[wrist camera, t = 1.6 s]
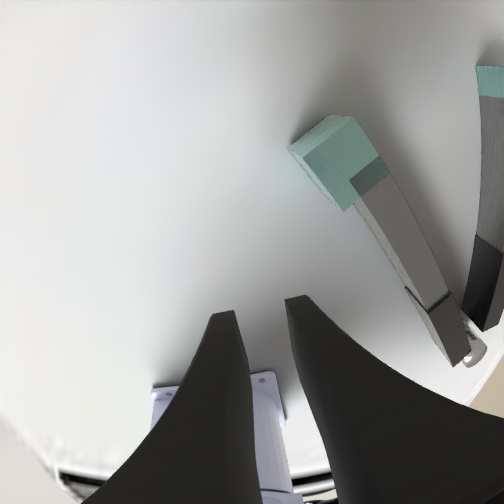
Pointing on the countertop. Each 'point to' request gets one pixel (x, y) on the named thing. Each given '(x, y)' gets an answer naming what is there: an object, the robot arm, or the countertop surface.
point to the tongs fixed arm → (489, 208)
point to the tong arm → (386, 225)
